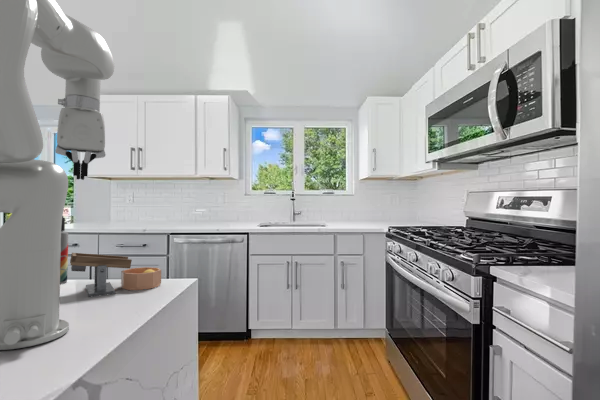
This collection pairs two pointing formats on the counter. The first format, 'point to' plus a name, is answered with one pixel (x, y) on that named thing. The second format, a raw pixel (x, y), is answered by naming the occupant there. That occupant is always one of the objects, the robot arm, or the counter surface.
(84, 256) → the tilt chute
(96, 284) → the chute stand
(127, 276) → the terracotta bowl
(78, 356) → the counter surface
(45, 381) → the counter surface
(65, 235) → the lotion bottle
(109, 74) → the robot arm
